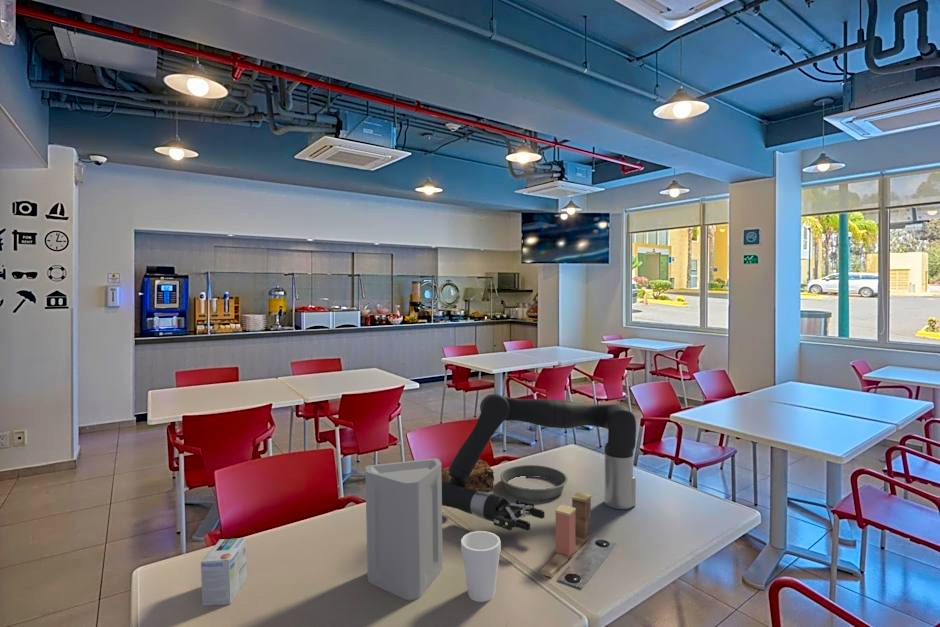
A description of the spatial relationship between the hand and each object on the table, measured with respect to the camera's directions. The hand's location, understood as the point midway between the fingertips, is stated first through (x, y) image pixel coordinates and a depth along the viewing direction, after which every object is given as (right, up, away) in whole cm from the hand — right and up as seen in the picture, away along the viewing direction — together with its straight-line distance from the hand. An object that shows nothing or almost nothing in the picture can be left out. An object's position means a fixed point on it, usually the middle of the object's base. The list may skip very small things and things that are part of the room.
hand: (536, 520), depth 138 cm
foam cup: (-16, -9, -21) cm, 28 cm away
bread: (-20, -6, +39) cm, 45 cm away
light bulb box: (-78, -9, -19) cm, 81 cm away
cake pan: (+5, -6, +42) cm, 43 cm away
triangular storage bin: (-34, -9, -16) cm, 39 cm away
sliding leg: (+7, -6, -5) cm, 11 cm away
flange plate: (+13, -8, -8) cm, 17 cm away
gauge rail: (+8, -8, -4) cm, 12 cm away
